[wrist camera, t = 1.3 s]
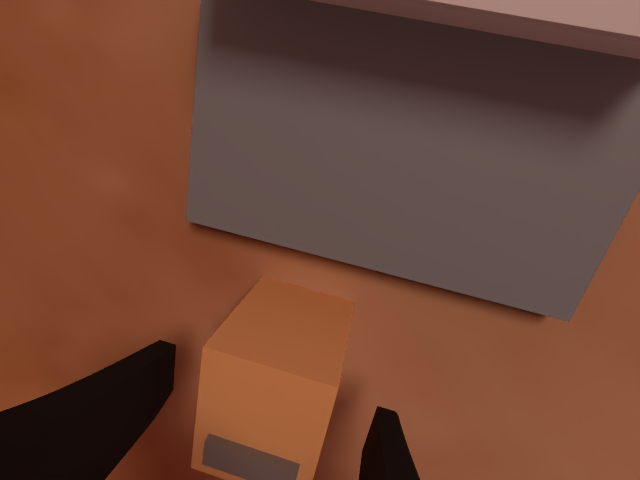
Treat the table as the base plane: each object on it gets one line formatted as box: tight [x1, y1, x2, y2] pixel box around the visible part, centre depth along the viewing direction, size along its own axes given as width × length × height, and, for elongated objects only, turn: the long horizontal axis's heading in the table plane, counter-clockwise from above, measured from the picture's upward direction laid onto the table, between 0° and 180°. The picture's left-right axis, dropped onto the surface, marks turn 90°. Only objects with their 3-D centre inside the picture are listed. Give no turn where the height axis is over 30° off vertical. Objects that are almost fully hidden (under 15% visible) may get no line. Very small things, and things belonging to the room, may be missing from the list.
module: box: [191, 276, 355, 480], centre depth 13 cm, size 4×5×5 cm
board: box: [186, 0, 640, 322], centre depth 10 cm, size 14×11×4 cm
